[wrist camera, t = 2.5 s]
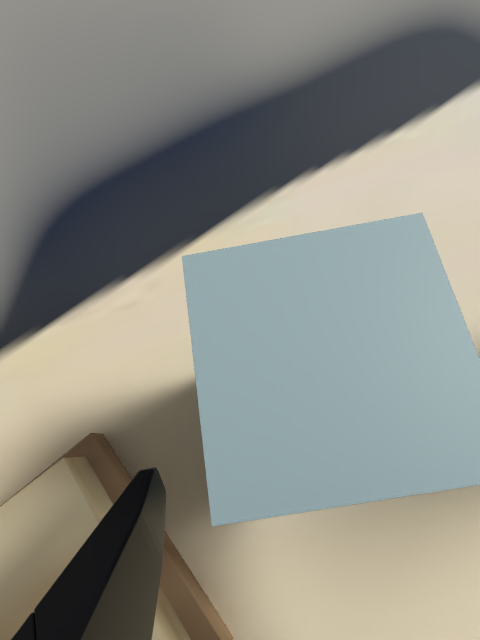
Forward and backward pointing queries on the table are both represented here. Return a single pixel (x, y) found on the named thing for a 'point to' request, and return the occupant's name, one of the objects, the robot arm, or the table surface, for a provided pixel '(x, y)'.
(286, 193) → the table surface
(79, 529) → the birch slab
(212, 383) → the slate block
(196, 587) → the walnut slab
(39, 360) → the table surface
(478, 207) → the table surface
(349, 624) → the table surface
